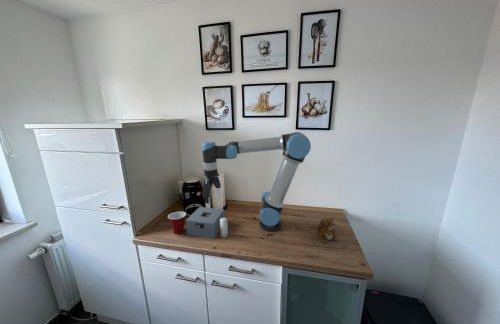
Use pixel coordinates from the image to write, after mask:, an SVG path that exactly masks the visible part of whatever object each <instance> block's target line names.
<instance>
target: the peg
mask: <svg viewBox="0 0 500 324" xmlns="http://www.w3.org/2000/svg"><path fill="white" fill-rule="evenodd" d="M228 227H229V226H228V218H227V217H224V218H221V219H220V231H219V233H220V237H221V238H227V237H228V236H229V230H228V229H229V228H228Z"/></svg>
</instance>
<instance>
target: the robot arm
mask: <svg viewBox="0 0 500 324" xmlns="http://www.w3.org/2000/svg"><path fill="white" fill-rule="evenodd" d="M311 146H312V145H311V141H310V139H309V137H307V136H306V135H305V134H303V133H302V132H299V131H295V132H291V133H286V134H285V133H284V134H280V136H276V137H267V138H258V139H249V140H239V141H229V142H228V143H227V144H225V145H217V144H216V142H215V141H204V142H202V144H201V148H202V149H201V153H202V160H203V161H202V162H203V163H202V164H203V169H204V170H203V173H204V176H205V177H206V179H204V180H203V191H202V199H204V201H205V208H212V207H211V197H210V196H211V195H210V193H211V190H212V187H213V186H214V187H215V188H214V194H215V195H214V196H215V199H221V198H220V197H221V194H220V189H221V185H222V184H221V181H220V179H219V173H218V160H234V159H237V157H238V154H239V155H240V154H246V153H249V154H250V153H258V152H266V151H267V152H268V151H269V152H271V151H278V150H282V154H281V155H282V156H283V159H282V162H281V164H280V167H279V169H278V171H277V174H276V177H275V180H274V182H273V184H272V187H271V189H270V191H263V193H262V194H261V204H260V210H259V212H258V215H259V222H258V226H259V228H260V229H261V230H263V231H265V232H277V231H279V230H281V229H282V227H283V223H282V222H283V221H282V219H281V214H282V212H283V209H284V207H285V204H284V200H285V198H286V195H287V193H288V191H289V188H290V186H291V184H292V181H293V179H294V177H295V174H296V172H297V170H298V167H299V165H300V164H303V163H304V161H305V158H306V157H307V155H309V153H310V152H311V148H312V147H311Z"/></svg>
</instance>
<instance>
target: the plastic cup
mask: <svg viewBox="0 0 500 324" xmlns="http://www.w3.org/2000/svg"><path fill="white" fill-rule="evenodd" d="M186 216H187V213H186V211H174V212H172V213H169V214H168V215H167V219H168V220H169V221H170V225H171V228H172V231H173V233H174V235H181V234H182V233H183V232H184V230H185V229H184V228H185V223H186Z"/></svg>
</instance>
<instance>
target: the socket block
mask: <svg viewBox="0 0 500 324" xmlns="http://www.w3.org/2000/svg"><path fill="white" fill-rule="evenodd" d="M208 214H210V216H209V217H205V215H208ZM221 218H225V209H222V208H212V207H211V208H206V206H205V207H203V206H199V207H198V208H197V209H196V210H195V211H194V212H193V213H191V214H190V216H189V217H187V218H185V225H186V235H187V236H193V237H194V236H195V237H201V238H207V239H215V238H216V236H217V235H218V233H220V219H221ZM199 224H203V225H202V226H201V229H196V225H199Z"/></svg>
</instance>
